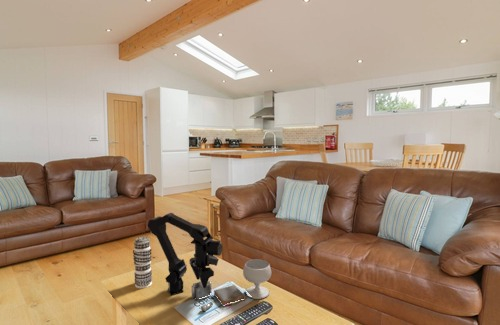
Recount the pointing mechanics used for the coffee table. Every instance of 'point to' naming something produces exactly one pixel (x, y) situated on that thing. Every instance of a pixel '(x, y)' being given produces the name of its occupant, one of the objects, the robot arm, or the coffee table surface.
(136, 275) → the grey striped cylinder
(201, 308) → the loose bolt
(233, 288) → the plinth
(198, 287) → the block
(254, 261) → the chalice
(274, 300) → the coffee table surface
